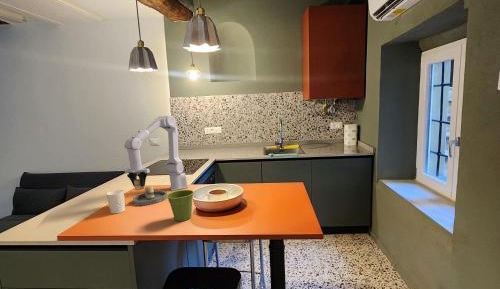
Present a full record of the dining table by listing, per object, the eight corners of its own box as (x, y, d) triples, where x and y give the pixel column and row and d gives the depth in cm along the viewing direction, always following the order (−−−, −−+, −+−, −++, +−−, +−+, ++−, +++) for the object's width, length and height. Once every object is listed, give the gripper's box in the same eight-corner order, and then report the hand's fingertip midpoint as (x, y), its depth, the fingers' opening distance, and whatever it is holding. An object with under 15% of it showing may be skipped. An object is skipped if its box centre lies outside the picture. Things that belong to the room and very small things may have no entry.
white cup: (106, 213, 145) (102, 194, 144) (119, 207, 152) (116, 189, 151) (116, 215, 142) (113, 195, 140) (130, 209, 148) (127, 190, 147)
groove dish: (165, 192, 172) (165, 188, 172) (169, 200, 156) (168, 196, 155) (133, 198, 166) (133, 194, 165) (133, 208, 149) (132, 203, 149)
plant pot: (200, 218, 127) (197, 193, 126) (173, 226, 122) (170, 200, 120) (192, 210, 138) (189, 187, 136) (166, 217, 132) (163, 193, 130)
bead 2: (154, 194, 168) (152, 185, 167) (154, 196, 164) (153, 187, 163) (145, 195, 166) (144, 187, 166) (146, 198, 162) (144, 189, 161)
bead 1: (138, 187, 159) (137, 178, 158) (145, 187, 158) (144, 178, 157) (133, 190, 155) (131, 180, 154) (140, 190, 153) (138, 181, 153)
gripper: (118, 163, 153) (122, 188, 155) (141, 162, 148) (145, 188, 150) (128, 160, 159) (132, 184, 161) (150, 159, 155) (154, 184, 157)
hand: (139, 186), depth 156 cm, fingers closed on bead 1, 4 cm apart
